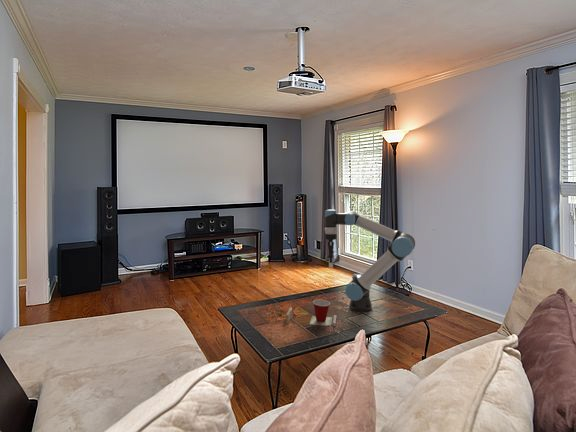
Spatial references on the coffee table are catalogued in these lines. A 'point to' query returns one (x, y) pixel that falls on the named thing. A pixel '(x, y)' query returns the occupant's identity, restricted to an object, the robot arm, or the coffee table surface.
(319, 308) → the plastic cup
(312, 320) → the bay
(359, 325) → the coffee table surface
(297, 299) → the coffee table surface
